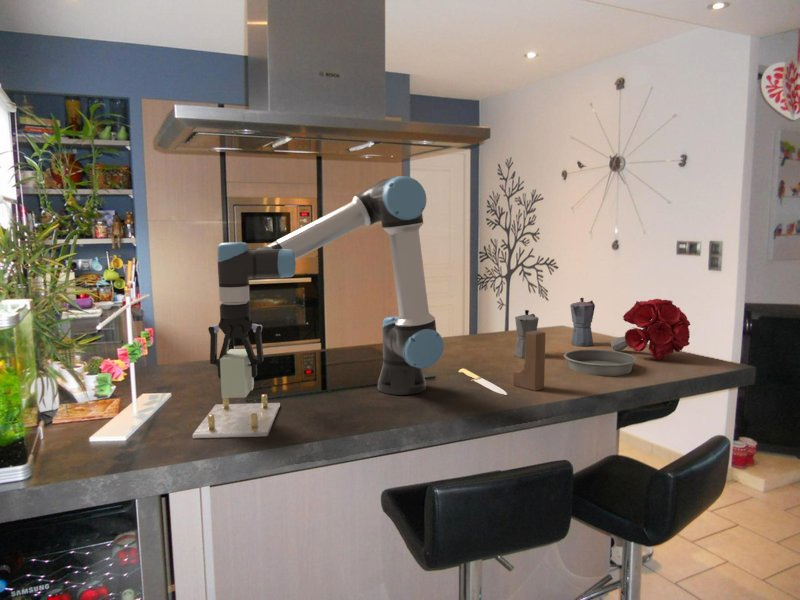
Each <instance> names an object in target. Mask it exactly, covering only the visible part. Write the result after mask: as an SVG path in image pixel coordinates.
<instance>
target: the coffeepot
mask: <svg viewBox="0 0 800 600" xmlns="http://www.w3.org/2000/svg"><path fill="white" fill-rule="evenodd" d="M529 313H530V310H528V309H525V310H524V314H523V315H522V314H521V315H518V316H515V317H514V318H515V327H516V335H517V339H516V343H515V348H514V349H515V350H514V356H515V357H516V358H519V359H525V342H526V332H530V331H538V324H539V317H538V316H536V315H535V314H534V313H531V314H529Z"/></svg>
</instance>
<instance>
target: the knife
mask: <svg viewBox="0 0 800 600" xmlns="http://www.w3.org/2000/svg"><path fill="white" fill-rule="evenodd" d="M458 373H463V374H465V375H466V376H468V377H470V378H473V379H471V380H470V381H471V382H472V381H474V382H475V383H478V384H479V385H482V386H483V387H485V388H487V389H489V390H491V391H493V392H495V393H497V394H501V395H505V396H508V393H507V391H505V390H504V389H502V388H501V387H499V386H497V385H496V384H494V383H492V382H490V381H489V380H487V379H484V378H482V377H481V376H479V375H477V374H475V373H474V372H472V371H470V370H468V369H467V368H464V367H463V368H461V369H459V370H458Z"/></svg>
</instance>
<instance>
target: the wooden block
mask: <svg viewBox="0 0 800 600" xmlns="http://www.w3.org/2000/svg"><path fill="white" fill-rule="evenodd" d="M545 361H546V332H545V331H538V330H537V331H530V332H526V342H525V358H524V366H523V369H519V370H515V371H513V377H512V378H513V381H512V385H513V386H516V387H519V388H523V389H525V390H526V389H527V390H531V391H532V392H533V391H534V392H536V391H540V390H543V389H545V369H546V368H545V367H546V366H545V365H546V364H545Z"/></svg>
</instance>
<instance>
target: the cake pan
mask: <svg viewBox="0 0 800 600" xmlns="http://www.w3.org/2000/svg"><path fill="white" fill-rule="evenodd" d="M563 357H564V359H566V360H567V361H566V362H567V365H568V368H569V369H570V370H573V371H575V372H577V373H580V374H581V373H582V374H585V375H593V376H604V377H605V376H607V377H608V376H611V377H612V376H623V375H627V374H630V373H631V372H632V371H633V367H634V364H635V363H636V362H637V361H638V358H637V357H636V356H635V355H632V354H629V353H625V352H621V351H619V352H618V351H614V350H608V349H595V348H594V349H590V348H589V349H587V348H586V349H576V350H571V351H567V352H565V353H564V354H563Z"/></svg>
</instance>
